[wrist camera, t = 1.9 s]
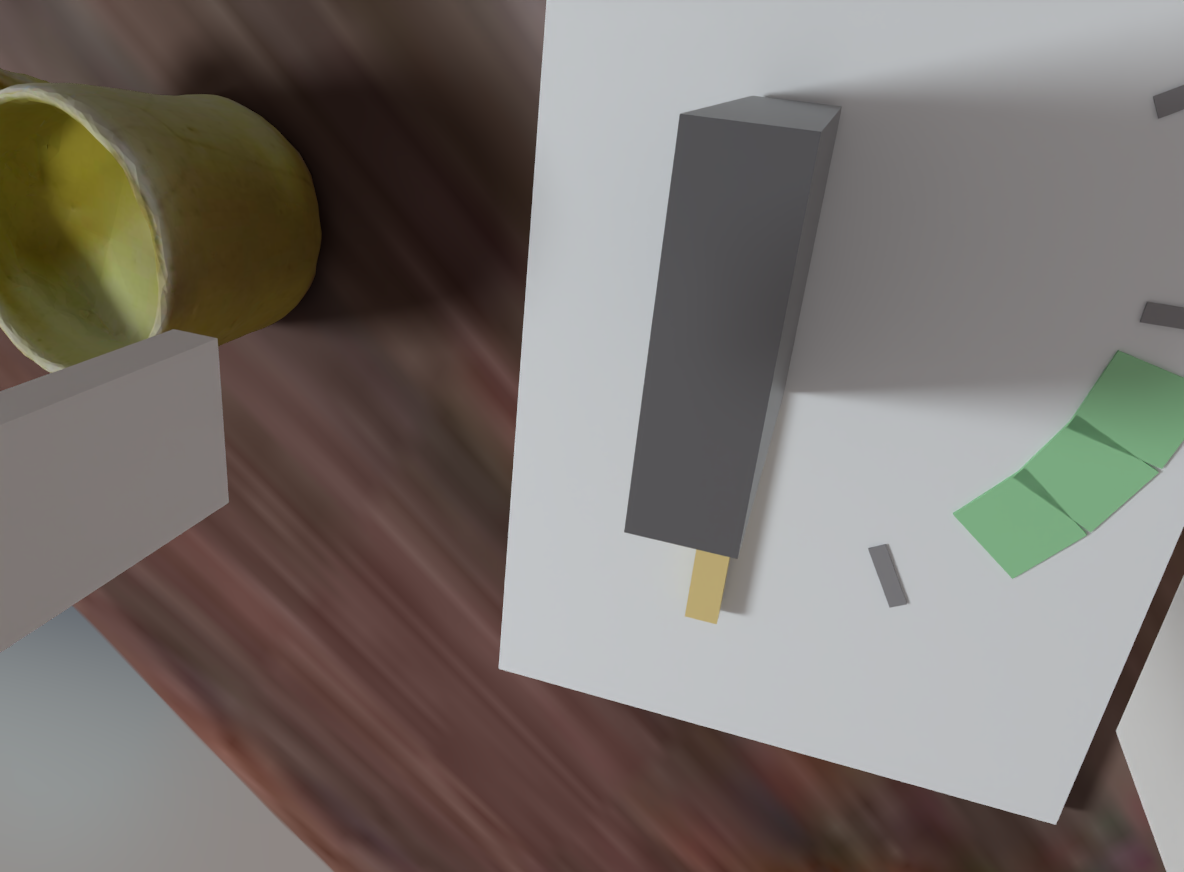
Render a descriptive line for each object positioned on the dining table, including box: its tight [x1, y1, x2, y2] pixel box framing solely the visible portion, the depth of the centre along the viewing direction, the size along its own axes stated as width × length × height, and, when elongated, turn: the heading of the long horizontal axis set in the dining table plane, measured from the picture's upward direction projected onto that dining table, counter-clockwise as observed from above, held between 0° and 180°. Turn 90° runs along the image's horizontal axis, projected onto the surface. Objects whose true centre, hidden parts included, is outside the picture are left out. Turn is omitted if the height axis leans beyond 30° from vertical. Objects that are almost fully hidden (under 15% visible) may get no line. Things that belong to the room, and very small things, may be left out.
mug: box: [0, 68, 322, 373], centre depth 31 cm, size 12×10×10 cm
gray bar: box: [624, 96, 842, 624], centre depth 25 cm, size 18×3×11 cm, turn 174°
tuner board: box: [499, 0, 1184, 825], centre depth 30 cm, size 28×22×1 cm
